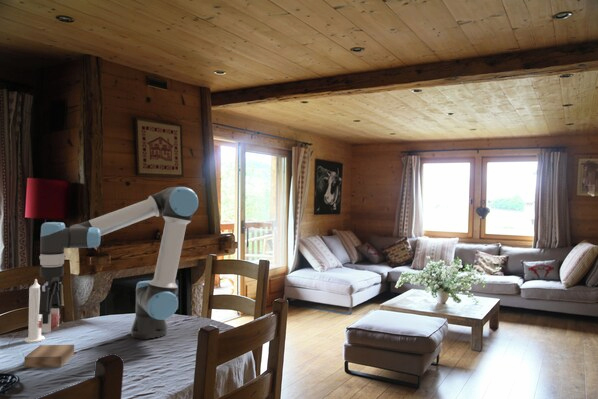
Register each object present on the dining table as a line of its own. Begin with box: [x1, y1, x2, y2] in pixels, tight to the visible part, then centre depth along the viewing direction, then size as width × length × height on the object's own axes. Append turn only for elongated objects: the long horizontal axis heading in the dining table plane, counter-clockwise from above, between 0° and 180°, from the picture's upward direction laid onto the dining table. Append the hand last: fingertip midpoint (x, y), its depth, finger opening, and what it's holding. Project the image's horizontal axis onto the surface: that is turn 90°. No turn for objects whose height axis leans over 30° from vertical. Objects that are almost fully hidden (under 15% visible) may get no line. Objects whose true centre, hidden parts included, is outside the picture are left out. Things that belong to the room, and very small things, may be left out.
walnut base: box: [24, 344, 75, 368], centre depth 161 cm, size 12×12×4 cm
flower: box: [37, 312, 61, 331], centre depth 160 cm, size 8×8×6 cm
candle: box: [24, 278, 46, 344], centre depth 182 cm, size 7×7×25 cm
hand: (50, 329), depth 161 cm, fingers closed on flower, 6 cm apart
